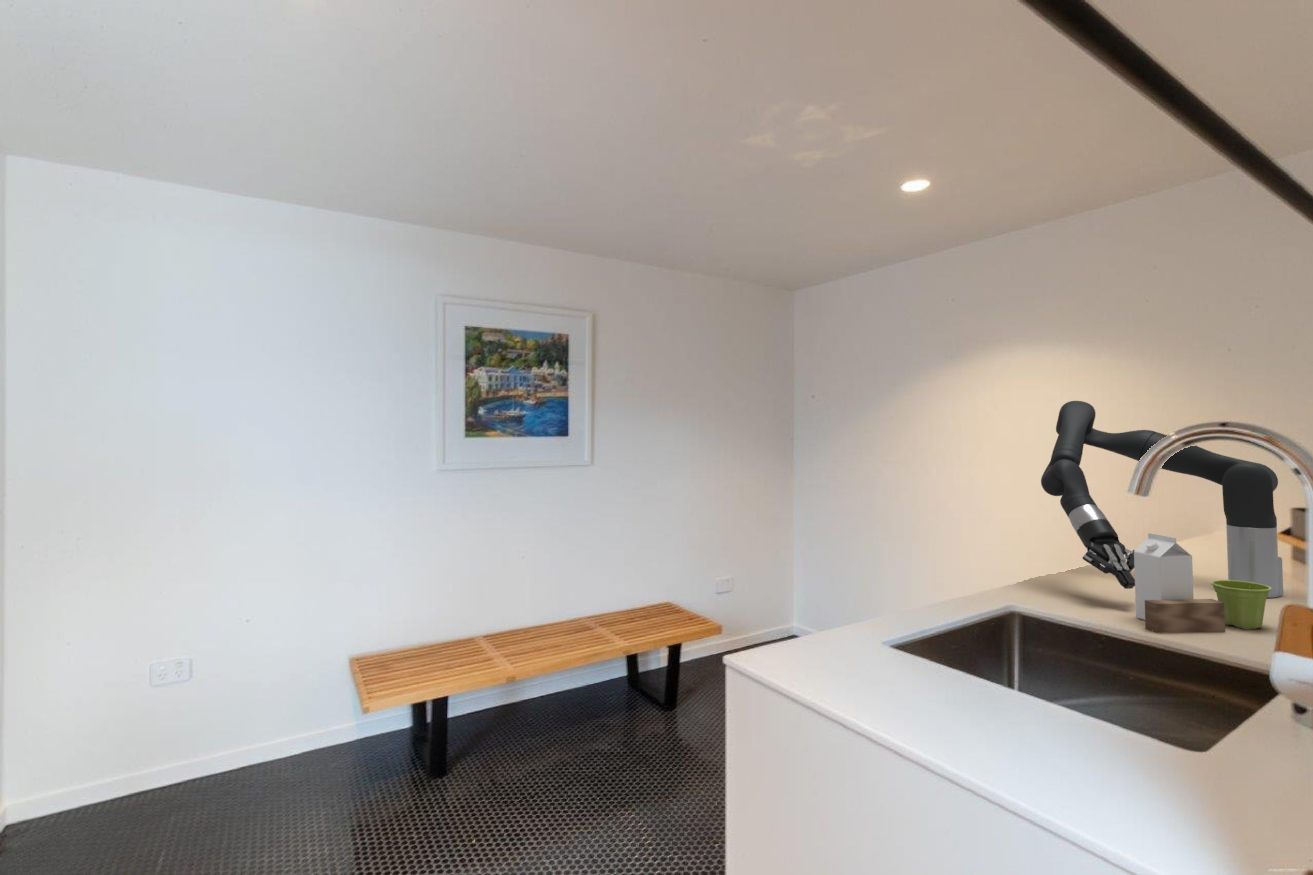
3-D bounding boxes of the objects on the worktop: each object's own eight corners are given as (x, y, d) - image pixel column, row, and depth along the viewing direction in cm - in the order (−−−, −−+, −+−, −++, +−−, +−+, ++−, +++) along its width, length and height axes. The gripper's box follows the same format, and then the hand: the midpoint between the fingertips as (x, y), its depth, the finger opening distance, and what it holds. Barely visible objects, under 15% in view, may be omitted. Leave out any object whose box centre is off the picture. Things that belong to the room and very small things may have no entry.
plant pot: (1220, 628, 128) (1219, 587, 128) (1205, 616, 137) (1204, 578, 137) (1281, 634, 124) (1279, 591, 124) (1261, 621, 132) (1260, 581, 132)
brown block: (1210, 626, 130) (1209, 598, 130) (1225, 631, 126) (1224, 602, 127) (1144, 627, 130) (1143, 599, 130) (1156, 632, 127) (1155, 603, 127)
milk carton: (1166, 616, 138) (1163, 532, 138) (1194, 626, 131) (1192, 537, 131) (1135, 617, 138) (1132, 533, 138) (1162, 626, 130) (1159, 538, 131)
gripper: (1110, 534, 158) (1150, 594, 145) (1059, 536, 158) (1094, 595, 145) (1126, 517, 152) (1168, 577, 140) (1072, 518, 152) (1110, 579, 140)
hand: (1130, 586), depth 143 cm, fingers closed
